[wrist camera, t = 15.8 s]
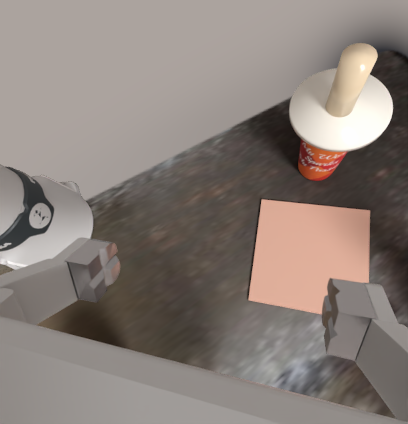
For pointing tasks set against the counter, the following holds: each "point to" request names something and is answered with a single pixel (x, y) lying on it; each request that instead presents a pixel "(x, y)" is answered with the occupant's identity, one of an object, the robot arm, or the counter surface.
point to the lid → (342, 104)
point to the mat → (307, 252)
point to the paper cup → (317, 162)
